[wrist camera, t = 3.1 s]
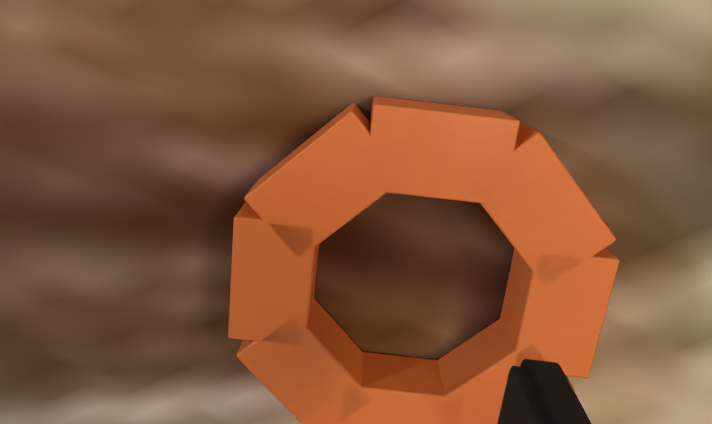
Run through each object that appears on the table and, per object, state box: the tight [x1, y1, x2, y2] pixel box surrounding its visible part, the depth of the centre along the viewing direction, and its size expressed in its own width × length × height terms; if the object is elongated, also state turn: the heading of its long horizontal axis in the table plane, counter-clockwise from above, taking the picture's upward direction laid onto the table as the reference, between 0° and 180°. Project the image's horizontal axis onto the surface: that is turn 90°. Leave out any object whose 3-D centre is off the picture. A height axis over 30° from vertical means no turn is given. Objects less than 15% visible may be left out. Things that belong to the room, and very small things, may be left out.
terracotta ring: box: [228, 96, 619, 424], centre depth 16 cm, size 10×10×2 cm
